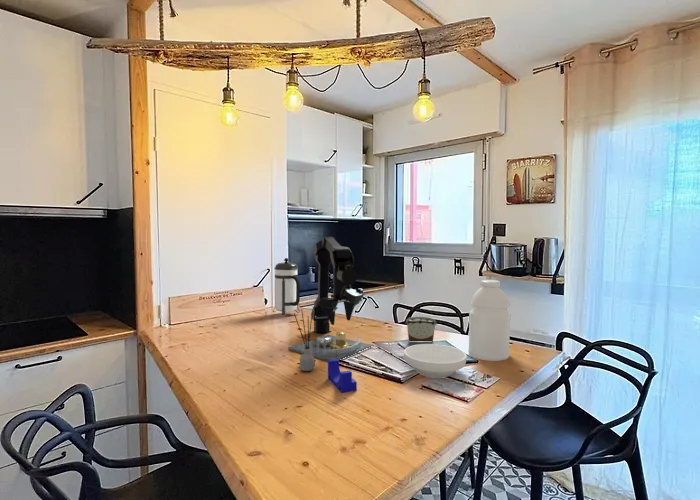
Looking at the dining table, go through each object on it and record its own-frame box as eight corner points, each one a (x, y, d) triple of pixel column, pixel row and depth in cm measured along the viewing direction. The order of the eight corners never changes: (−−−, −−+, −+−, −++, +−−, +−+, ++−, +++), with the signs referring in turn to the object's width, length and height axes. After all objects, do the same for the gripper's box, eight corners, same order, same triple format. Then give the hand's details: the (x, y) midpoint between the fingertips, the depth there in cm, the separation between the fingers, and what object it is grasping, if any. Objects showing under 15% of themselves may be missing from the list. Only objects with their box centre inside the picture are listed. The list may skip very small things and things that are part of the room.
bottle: (461, 357, 142) (463, 280, 141) (478, 349, 152) (480, 277, 151) (499, 367, 133) (502, 284, 131) (515, 357, 143) (517, 280, 141)
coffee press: (267, 315, 209) (267, 258, 208) (278, 309, 225) (277, 256, 224) (299, 316, 207) (299, 259, 205) (307, 310, 222) (307, 257, 221)
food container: (434, 340, 164) (435, 316, 163) (436, 345, 158) (436, 320, 157) (404, 339, 165) (405, 316, 164) (405, 343, 159) (405, 319, 158)
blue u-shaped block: (356, 392, 112) (356, 371, 112) (341, 394, 110) (341, 373, 110) (341, 377, 123) (341, 358, 123) (327, 379, 121) (327, 360, 121)
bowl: (429, 391, 112) (430, 367, 112) (391, 369, 130) (391, 348, 129) (480, 380, 121) (480, 357, 121) (438, 360, 139) (438, 340, 138)
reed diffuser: (319, 373, 126) (320, 311, 125) (299, 377, 122) (299, 313, 121) (307, 363, 135) (307, 305, 133) (288, 367, 131) (288, 307, 130)
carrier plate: (288, 349, 150) (288, 340, 150) (328, 337, 168) (328, 329, 168) (334, 363, 135) (334, 353, 135) (372, 347, 153) (373, 338, 153)
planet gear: (326, 348, 148) (326, 333, 148) (339, 344, 154) (339, 329, 154) (341, 353, 143) (342, 336, 143) (354, 348, 149) (354, 332, 149)
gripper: (341, 286, 135) (341, 331, 136) (373, 280, 150) (372, 321, 150) (317, 283, 142) (317, 325, 143) (350, 278, 156) (349, 317, 157)
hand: (340, 322), depth 148 cm, fingers open, 9 cm apart
